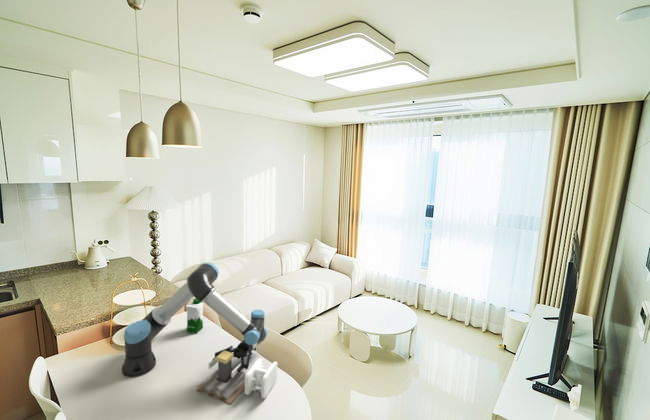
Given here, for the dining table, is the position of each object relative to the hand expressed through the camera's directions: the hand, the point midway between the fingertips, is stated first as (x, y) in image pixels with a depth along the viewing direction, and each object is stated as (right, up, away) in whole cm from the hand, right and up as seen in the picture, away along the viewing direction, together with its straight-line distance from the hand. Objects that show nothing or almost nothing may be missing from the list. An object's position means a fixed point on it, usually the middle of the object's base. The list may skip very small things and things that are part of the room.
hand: (220, 370), depth 140 cm
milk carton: (-35, -2, +51) cm, 62 cm away
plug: (+1, -10, +5) cm, 11 cm away
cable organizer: (+19, -12, +4) cm, 22 cm away
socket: (+1, -10, +5) cm, 11 cm away
